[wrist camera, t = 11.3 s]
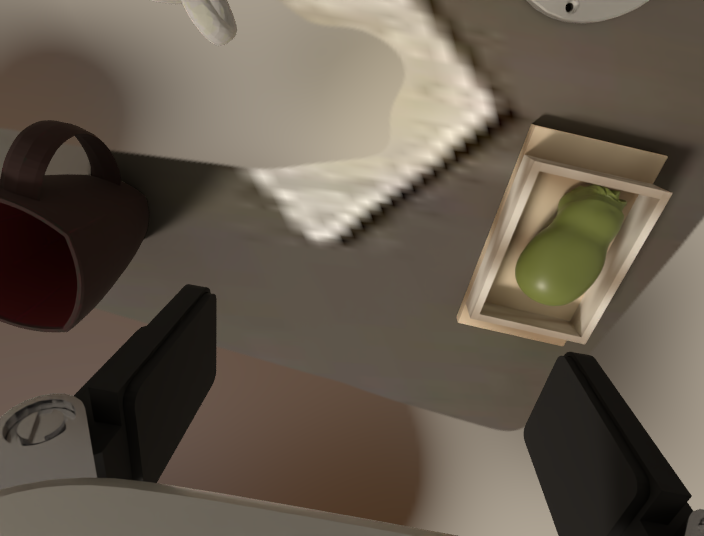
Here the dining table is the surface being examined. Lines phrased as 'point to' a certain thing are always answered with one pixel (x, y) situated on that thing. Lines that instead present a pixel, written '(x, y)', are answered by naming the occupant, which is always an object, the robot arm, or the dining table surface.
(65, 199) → the mug
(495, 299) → the open rectangular box
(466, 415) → the dining table surface
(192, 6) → the teacup
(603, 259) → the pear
